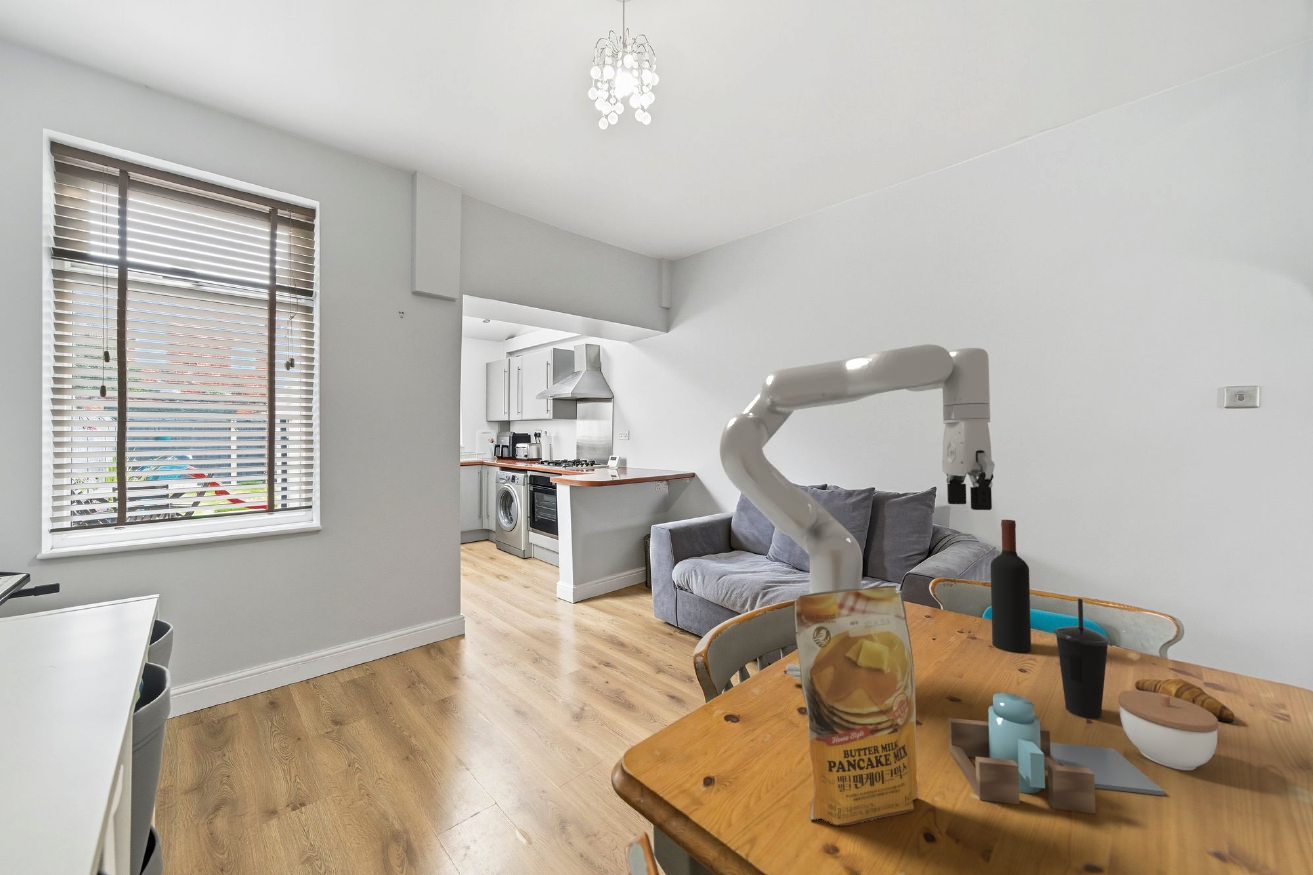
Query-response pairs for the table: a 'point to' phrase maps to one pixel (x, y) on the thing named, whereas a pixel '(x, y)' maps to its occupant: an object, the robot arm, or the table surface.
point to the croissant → (1186, 695)
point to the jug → (1017, 739)
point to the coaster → (1105, 768)
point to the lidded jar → (1168, 729)
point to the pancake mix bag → (858, 702)
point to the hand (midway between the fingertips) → (968, 506)
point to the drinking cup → (1082, 667)
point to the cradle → (1016, 770)
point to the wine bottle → (1010, 596)
